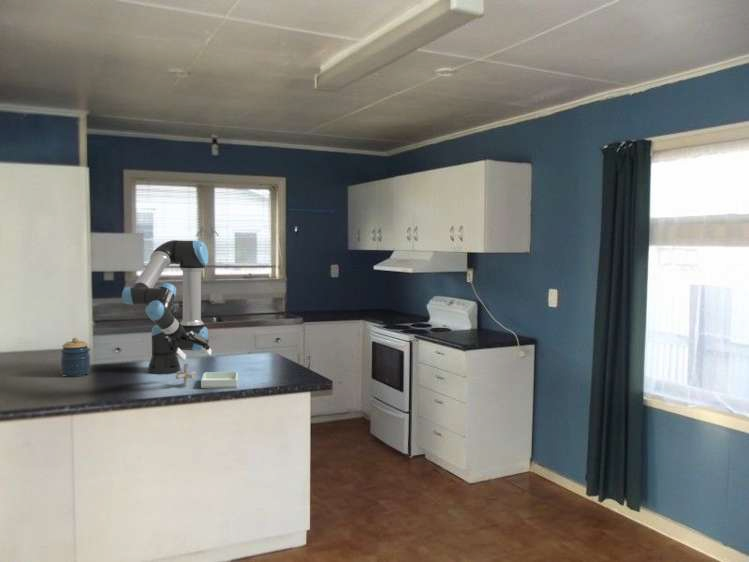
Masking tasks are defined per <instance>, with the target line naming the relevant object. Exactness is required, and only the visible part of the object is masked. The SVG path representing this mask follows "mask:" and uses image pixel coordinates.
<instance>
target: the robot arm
mask: <svg viewBox="0 0 749 562" xmlns="http://www.w3.org/2000/svg"><path fill="white" fill-rule="evenodd" d="M208 250H209V249H208V247H207V245H206V243H205V242H204V241H201V240H182V239H181V240H175V239H172V240H169V241H166V242H164V243H162V244H160V245H158V247H156V248H155V250H153V252H151V254H150V257H149V262H148V263H147V265H146V266H145V268H144V269H143V271H142V272H141V274H140V275H139V277H138V278H137V280H136V281H135V283H134V284H133V285H132V287H131V286H128V287H127V286H126V287H125V288H124V289H123V290H122V293H121V299H122V302H123V303H124V304H125V305H131V306H145V310H144V311H145V313H146V315H147V316H148V318H149V319H150V320H152V321H151V322H153V323H154V324H155V325H154V326H153V327H152V328H151V335H150V336H151V357H150V360H149V364H148V365H147V366H148V367H147V368H148V369H147V371H148V373H151V374H157V375H161V374H163V375H164V374H172V373H173V374H174V373H177V372H178V371H181V363H180V361H179V360H180V359H182V361H186V358H187V354H186V353H184V352H183V351H192V352H195V351H202V350H203V351H204V352H205V353H206V354H207V355H208V356H209V357H210V356H212V352H213V350H212V349H211V347H210V345H209V341H210V339H209V338H208V336H209V329H208V328H207V327H206V326H205V323H204V322H203V321H202V313H201V312H202V310H201V309H202V271H203V270H204V269H205V266H207V265H208V263H209V251H208ZM170 265H179V270H181V272H182V320H181V321H180V322H179V321H178V319H177V318H175V317H174V315H173V314H172V313H171V309H172V307H173V303H174V302H175V299H176V296H177V288H176V286H175V285H173V283H169V282H163V283H161V284H160V285H159V287H154V286H155V285H156V283H157V282H158V280H159V278H160V277H161V275H162V274H163V272H164V270H165V269H167V268H169V266H170ZM179 357H180V359H178V358H179Z"/></svg>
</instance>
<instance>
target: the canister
mask: <svg viewBox="0 0 749 562" xmlns="http://www.w3.org/2000/svg"><path fill="white" fill-rule="evenodd" d="M61 347H62V349H60V351H59V352H60V353H61V356H60V374H62V375H66V376H78V375H84V376H86V375H85V374H88V375H89V374H90V373H91V354H90V350H91V348H90V347H89V344H88V343H87V342H86V341H84V340H79V338H77V337H73V338H72V339H71V340H70V341H67V342H65V343H63V344H62V345H61ZM62 375H61V376H62ZM78 377H79V376H78Z"/></svg>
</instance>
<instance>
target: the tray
mask: <svg viewBox="0 0 749 562" xmlns="http://www.w3.org/2000/svg"><path fill="white" fill-rule="evenodd" d="M237 383H239V371H211V372H210V371H209V372H208V371H205V372H204V373H203V374H202V378H201V380H200V389H201V388H220V389H237V388H238V384H237Z"/></svg>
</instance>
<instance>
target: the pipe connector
mask: <svg viewBox="0 0 749 562" xmlns="http://www.w3.org/2000/svg"><path fill="white" fill-rule="evenodd" d="M195 376H196V371H195V370H193V371H189V363H184V364H183V371H181V370H179V371H177V372H176V375H175V379H176V380H180V379H183V387H188V386H189V379H195V378H196V377H195Z"/></svg>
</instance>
